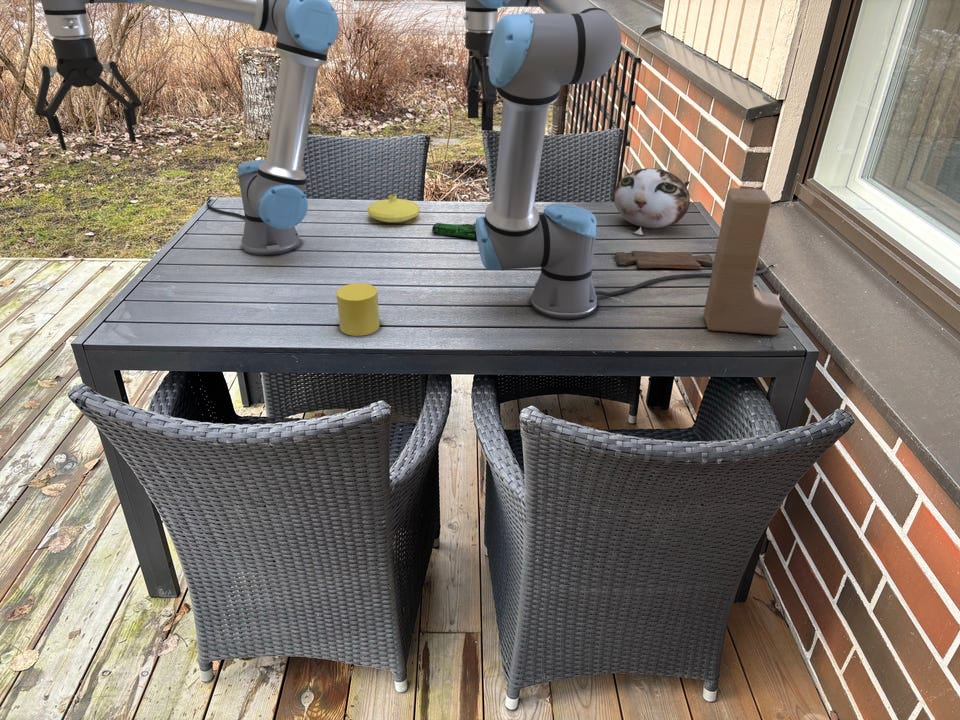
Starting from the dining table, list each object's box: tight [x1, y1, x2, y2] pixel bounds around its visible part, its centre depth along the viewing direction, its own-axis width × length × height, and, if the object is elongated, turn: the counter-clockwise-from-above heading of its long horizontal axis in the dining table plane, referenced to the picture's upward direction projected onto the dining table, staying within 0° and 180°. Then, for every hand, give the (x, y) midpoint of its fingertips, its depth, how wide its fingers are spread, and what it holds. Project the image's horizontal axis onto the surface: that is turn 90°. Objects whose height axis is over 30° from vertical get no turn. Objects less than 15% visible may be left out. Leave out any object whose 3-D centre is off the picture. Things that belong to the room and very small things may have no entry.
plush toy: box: [613, 167, 691, 236], centre depth 209 cm, size 22×18×20 cm
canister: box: [335, 282, 381, 337], centre depth 155 cm, size 9×9×8 cm
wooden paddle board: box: [614, 250, 714, 270], centre depth 190 cm, size 26×2×10 cm
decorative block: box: [703, 187, 785, 336], centre depth 152 cm, size 8×15×30 cm, turn 82°
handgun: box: [431, 222, 477, 241], centre depth 208 cm, size 16×3×15 cm
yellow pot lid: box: [366, 194, 420, 224], centre depth 215 cm, size 16×16×7 cm
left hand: (99, 144), depth 154 cm, fingers open, 13 cm apart
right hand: (479, 124), depth 179 cm, fingers open, 13 cm apart
